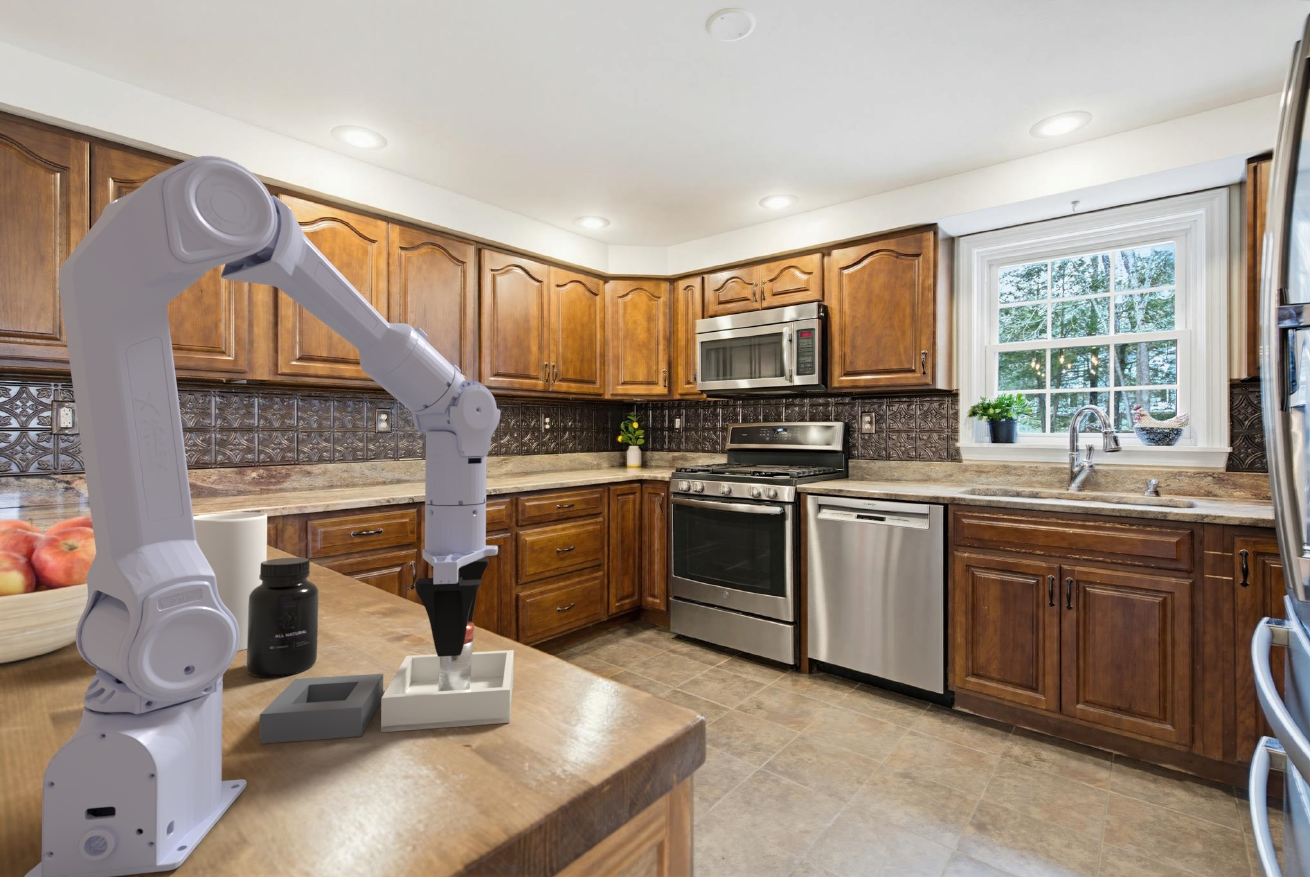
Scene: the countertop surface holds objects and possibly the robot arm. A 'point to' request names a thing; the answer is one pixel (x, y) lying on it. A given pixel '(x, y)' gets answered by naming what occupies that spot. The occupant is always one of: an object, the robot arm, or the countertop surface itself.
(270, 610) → the supplement bottle
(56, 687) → the countertop surface
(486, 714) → the pin tray
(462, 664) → the stop pin
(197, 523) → the cup
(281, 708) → the gray square holder
